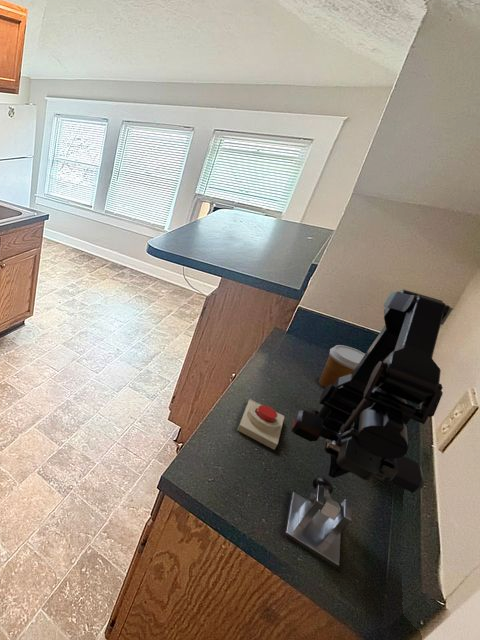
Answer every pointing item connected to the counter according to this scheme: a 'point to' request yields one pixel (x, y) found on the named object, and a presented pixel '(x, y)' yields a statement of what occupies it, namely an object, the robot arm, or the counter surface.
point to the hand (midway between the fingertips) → (331, 475)
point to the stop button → (266, 413)
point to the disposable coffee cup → (340, 364)
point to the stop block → (260, 426)
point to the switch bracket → (317, 525)
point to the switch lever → (327, 498)
